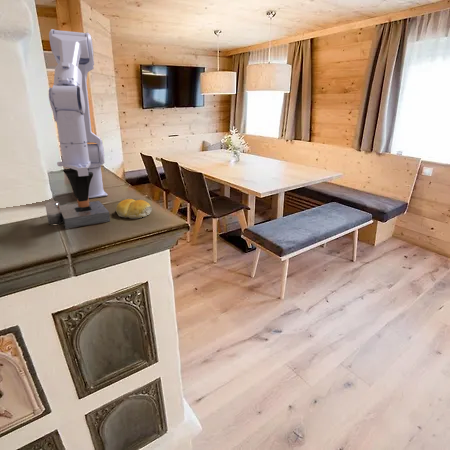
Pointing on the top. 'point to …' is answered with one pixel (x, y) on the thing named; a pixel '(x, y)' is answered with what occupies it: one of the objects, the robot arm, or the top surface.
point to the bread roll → (133, 208)
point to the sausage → (83, 203)
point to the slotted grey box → (76, 214)
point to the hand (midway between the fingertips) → (81, 198)
